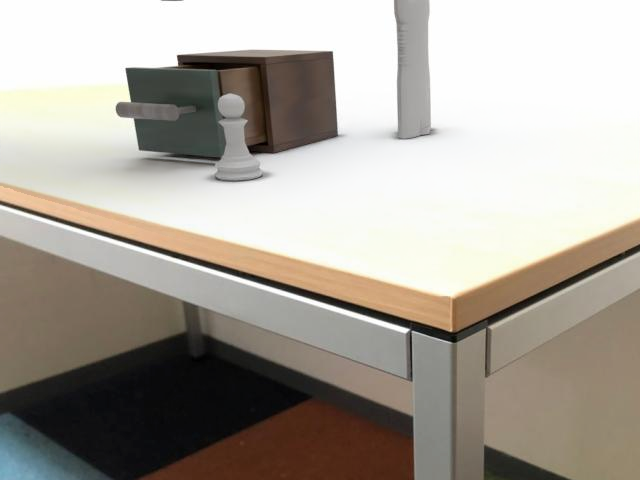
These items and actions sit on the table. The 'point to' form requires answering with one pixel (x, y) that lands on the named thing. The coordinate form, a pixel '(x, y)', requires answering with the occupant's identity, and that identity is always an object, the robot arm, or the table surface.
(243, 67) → the drawer
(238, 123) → the chess piece
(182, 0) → the robot arm
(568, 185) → the table surface
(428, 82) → the tall pale column
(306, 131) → the cabinet
